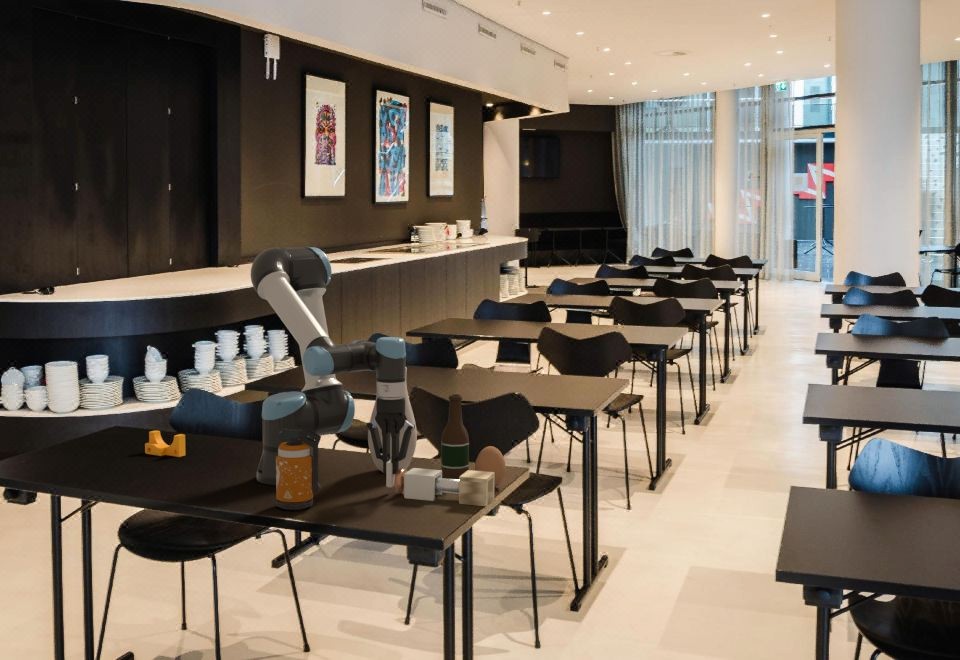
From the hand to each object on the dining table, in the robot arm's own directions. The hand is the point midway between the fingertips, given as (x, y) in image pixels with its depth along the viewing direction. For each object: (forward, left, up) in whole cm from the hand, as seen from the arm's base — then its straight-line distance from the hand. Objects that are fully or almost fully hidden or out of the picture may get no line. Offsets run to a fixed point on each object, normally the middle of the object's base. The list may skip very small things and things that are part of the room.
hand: (390, 485), depth 272 cm
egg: (+23, +14, -2) cm, 27 cm away
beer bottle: (+12, +17, -2) cm, 21 cm away
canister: (-17, -19, -2) cm, 26 cm away
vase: (-8, +21, -2) cm, 23 cm away
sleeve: (+9, 0, -2) cm, 9 cm away
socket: (+23, 0, -2) cm, 23 cm away
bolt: (+14, 0, -2) cm, 14 cm away
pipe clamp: (-80, +18, -2) cm, 82 cm away
